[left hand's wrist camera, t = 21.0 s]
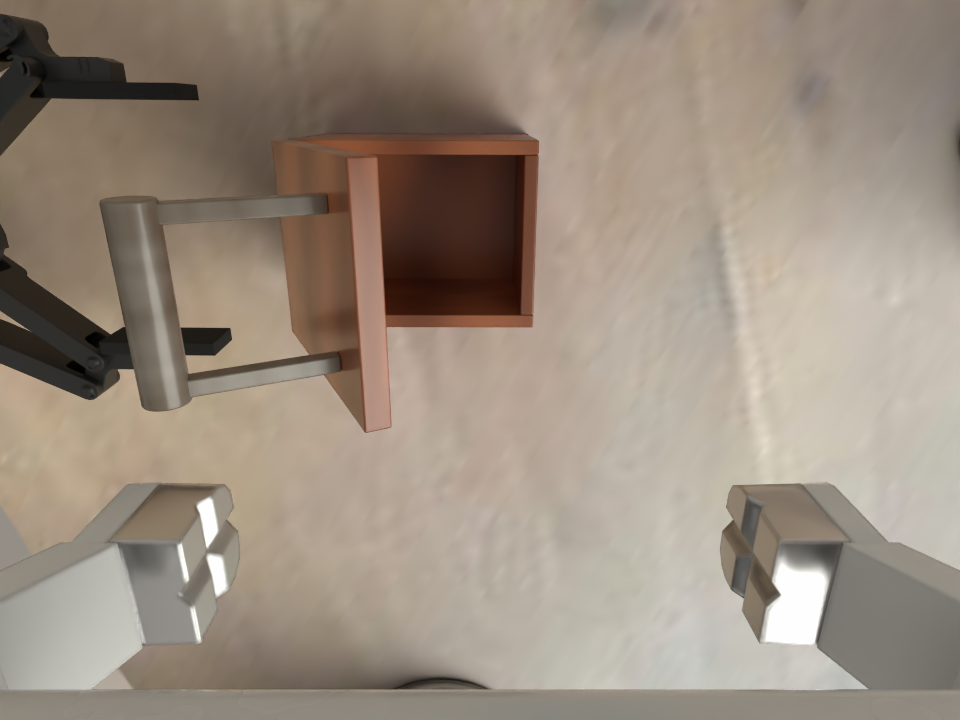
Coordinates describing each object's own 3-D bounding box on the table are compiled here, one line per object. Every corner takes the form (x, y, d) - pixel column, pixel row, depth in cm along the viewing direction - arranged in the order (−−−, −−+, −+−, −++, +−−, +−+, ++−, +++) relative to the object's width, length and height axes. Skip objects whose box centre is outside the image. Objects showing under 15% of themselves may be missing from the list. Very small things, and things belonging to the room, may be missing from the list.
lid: (377, 155, 21) (82, 163, 17) (392, 428, 24) (150, 480, 21) (293, 139, 32) (102, 142, 28) (311, 329, 35) (144, 352, 32)
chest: (526, 134, 40) (539, 140, 32) (522, 286, 44) (532, 327, 35) (325, 133, 40) (285, 139, 32) (337, 286, 44) (304, 327, 35)
